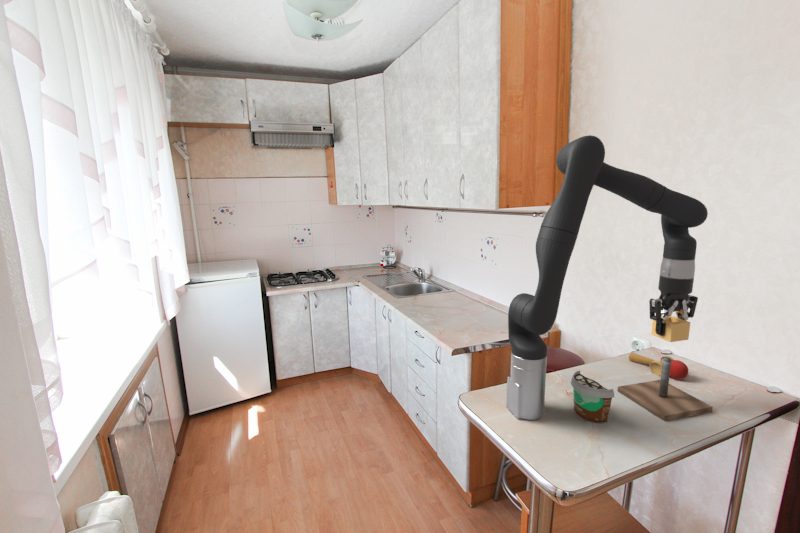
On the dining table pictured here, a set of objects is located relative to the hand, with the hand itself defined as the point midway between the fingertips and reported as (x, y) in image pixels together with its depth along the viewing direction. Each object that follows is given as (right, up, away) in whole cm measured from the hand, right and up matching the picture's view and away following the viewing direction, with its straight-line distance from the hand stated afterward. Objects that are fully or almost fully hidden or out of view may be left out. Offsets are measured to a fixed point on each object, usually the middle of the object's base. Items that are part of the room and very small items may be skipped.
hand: (669, 333), depth 106 cm
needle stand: (+1, -20, +4) cm, 21 cm away
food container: (-25, -22, -2) cm, 33 cm away
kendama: (+11, -17, +22) cm, 30 cm away
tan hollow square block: (0, -1, 0) cm, 1 cm away
